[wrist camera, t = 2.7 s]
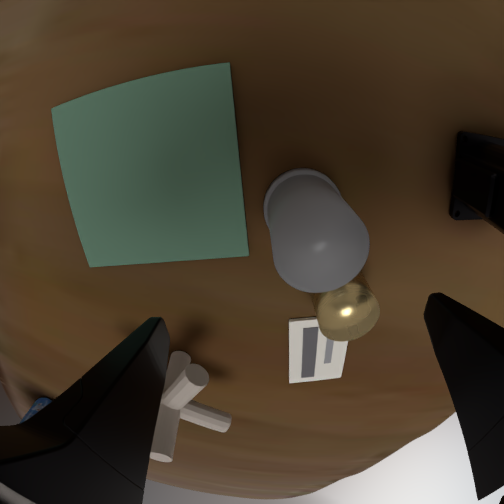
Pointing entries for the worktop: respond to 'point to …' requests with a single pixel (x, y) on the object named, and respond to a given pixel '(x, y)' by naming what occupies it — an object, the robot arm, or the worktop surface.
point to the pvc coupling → (313, 232)
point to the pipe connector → (183, 405)
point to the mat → (155, 169)
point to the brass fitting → (346, 310)
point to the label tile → (313, 352)
